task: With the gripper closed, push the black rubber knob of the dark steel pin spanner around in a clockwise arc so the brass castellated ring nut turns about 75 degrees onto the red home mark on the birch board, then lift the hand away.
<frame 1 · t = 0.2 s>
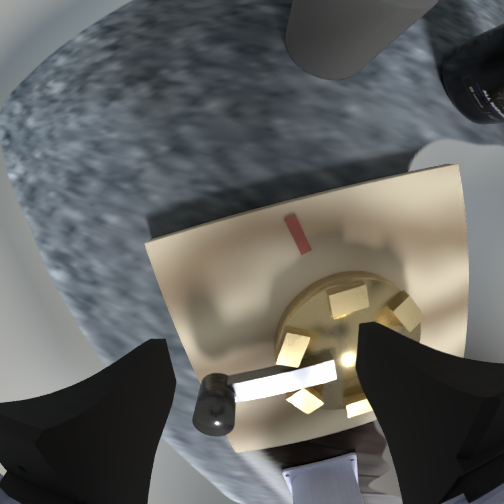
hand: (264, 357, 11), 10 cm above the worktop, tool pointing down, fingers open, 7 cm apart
bottle: (326, 45, 17), on the worktop
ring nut: (317, 372, 17), point 4 cm above the worktop, hinge at 0.0°
supplement bottle: (468, 87, 17), on the worktop
base board: (340, 328, 21), on the worktop
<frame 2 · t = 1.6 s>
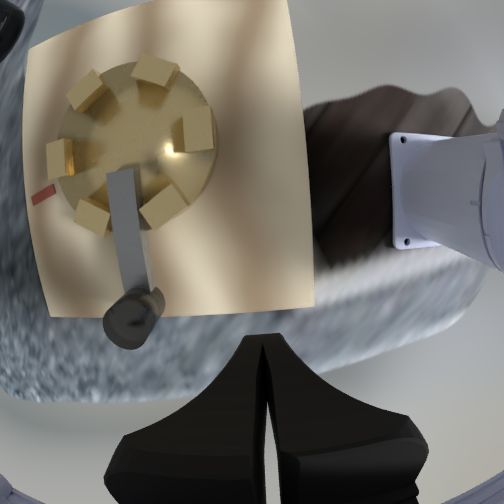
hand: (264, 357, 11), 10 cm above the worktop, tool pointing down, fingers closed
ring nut: (123, 191, 15), point 4 cm above the worktop, hinge at 0.0°
supplement bottle: (4, 37, 15), on the worktop
base board: (146, 149, 18), on the worktop
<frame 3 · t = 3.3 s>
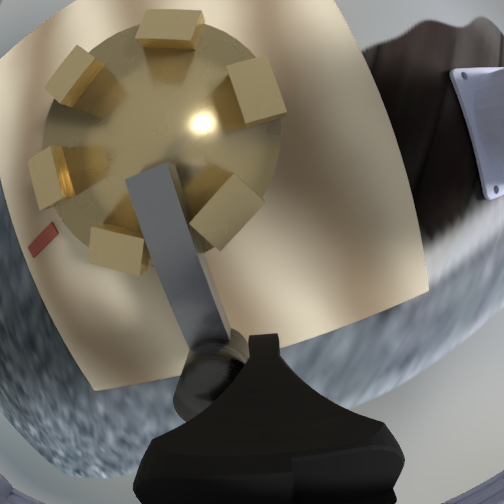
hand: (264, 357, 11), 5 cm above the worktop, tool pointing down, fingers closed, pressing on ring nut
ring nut: (157, 201, 10), point 4 cm above the worktop, hinge at 2.6°, touching gripper
base board: (169, 144, 13), on the worktop
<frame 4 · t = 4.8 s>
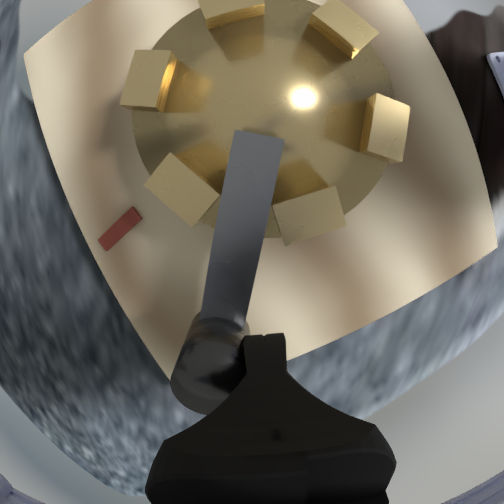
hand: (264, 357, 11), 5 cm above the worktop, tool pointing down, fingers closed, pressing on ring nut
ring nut: (252, 167, 9), point 4 cm above the worktop, hinge at 36.8°, touching gripper
base board: (263, 118, 13), on the worktop
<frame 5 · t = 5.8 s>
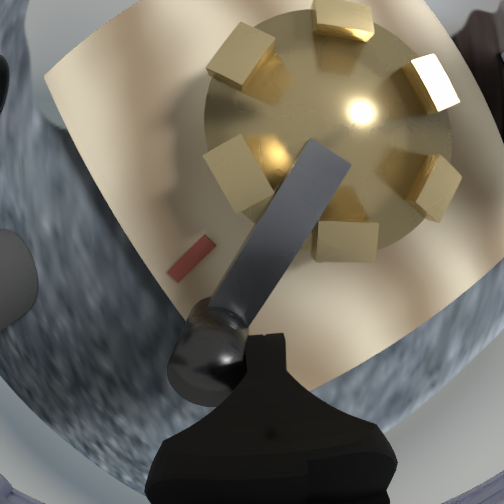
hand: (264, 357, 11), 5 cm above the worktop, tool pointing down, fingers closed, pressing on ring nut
bottle: (11, 271, 15), on the worktop
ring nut: (313, 179, 10), point 4 cm above the worktop, hinge at 62.4°, touching gripper
base board: (321, 134, 13), on the worktop
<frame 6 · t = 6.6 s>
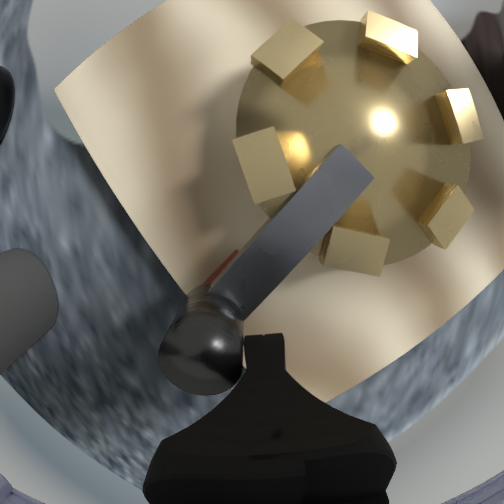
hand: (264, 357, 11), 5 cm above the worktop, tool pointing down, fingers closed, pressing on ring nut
bottle: (27, 290, 15), on the worktop
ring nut: (335, 184, 10), point 4 cm above the worktop, hinge at 75.1°, touching gripper
base board: (344, 144, 13), on the worktop
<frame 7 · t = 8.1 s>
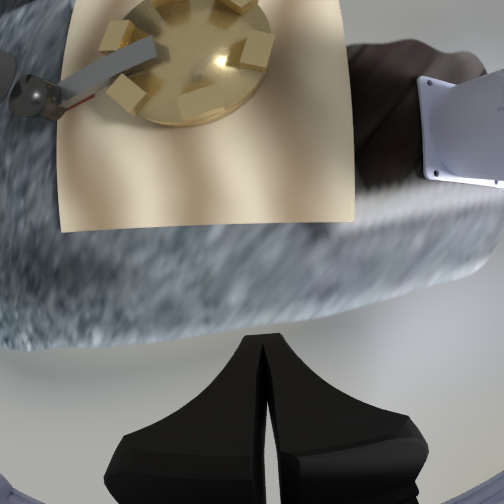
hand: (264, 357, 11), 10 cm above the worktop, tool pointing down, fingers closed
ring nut: (137, 54, 13), point 4 cm above the worktop, hinge at 75.2°
base board: (194, 63, 17), on the worktop
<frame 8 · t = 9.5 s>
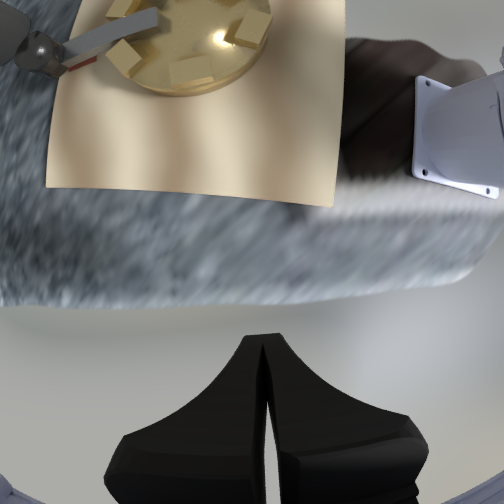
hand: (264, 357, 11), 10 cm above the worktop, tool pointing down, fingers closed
bottle: (11, 40, 16), on the worktop
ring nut: (140, 23, 13), point 4 cm above the worktop, hinge at 75.2°
base board: (195, 39, 17), on the worktop
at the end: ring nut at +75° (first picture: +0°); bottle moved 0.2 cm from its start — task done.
